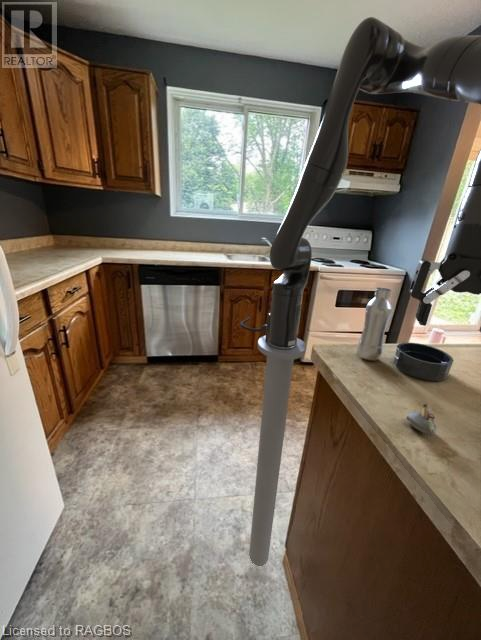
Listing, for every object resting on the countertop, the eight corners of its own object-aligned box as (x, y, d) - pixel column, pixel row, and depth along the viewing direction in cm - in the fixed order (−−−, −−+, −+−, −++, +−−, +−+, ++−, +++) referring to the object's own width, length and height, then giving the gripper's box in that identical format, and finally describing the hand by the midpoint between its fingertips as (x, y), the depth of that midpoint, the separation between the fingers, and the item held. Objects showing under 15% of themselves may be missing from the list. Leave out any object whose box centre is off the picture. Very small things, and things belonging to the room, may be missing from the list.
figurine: (399, 420, 53) (407, 394, 51) (419, 418, 53) (428, 393, 51) (420, 440, 48) (430, 413, 46) (442, 438, 48) (452, 411, 46)
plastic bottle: (368, 351, 81) (384, 286, 74) (385, 362, 75) (404, 292, 68) (350, 353, 79) (364, 286, 72) (365, 364, 73) (382, 292, 66)
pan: (386, 368, 72) (390, 351, 70) (400, 354, 80) (404, 338, 79) (442, 388, 64) (448, 370, 62) (451, 370, 72) (457, 353, 71)
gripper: (537, 225, 39) (496, 328, 45) (423, 220, 44) (399, 314, 50) (574, 224, 33) (520, 346, 38) (435, 219, 37) (405, 328, 43)
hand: (451, 328), depth 44 cm, fingers open, 8 cm apart
